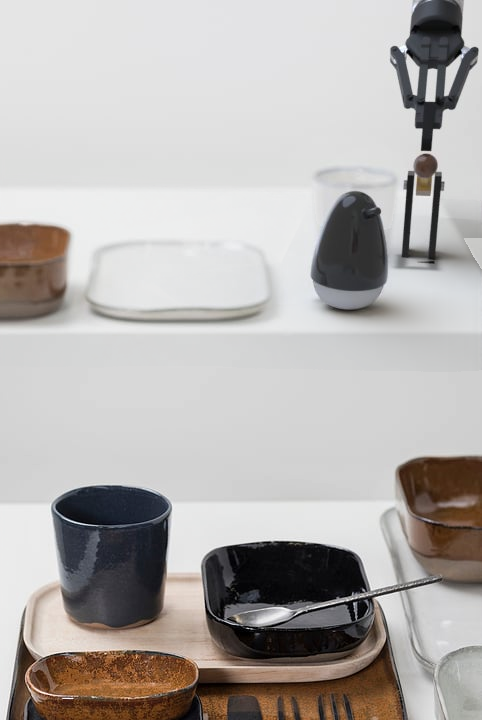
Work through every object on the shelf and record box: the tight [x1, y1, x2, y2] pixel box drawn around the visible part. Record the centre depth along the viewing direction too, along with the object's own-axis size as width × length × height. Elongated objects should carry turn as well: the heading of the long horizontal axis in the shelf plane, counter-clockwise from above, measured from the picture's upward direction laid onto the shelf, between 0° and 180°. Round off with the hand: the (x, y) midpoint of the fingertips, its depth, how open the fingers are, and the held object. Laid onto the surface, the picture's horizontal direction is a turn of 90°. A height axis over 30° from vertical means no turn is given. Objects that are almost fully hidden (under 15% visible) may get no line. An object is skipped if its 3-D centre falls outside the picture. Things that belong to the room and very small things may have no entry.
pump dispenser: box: [310, 190, 389, 311], centre depth 143 cm, size 10×10×15 cm
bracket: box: [401, 170, 446, 265], centre depth 165 cm, size 8×6×14 cm
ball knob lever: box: [412, 153, 439, 197], centre depth 158 cm, size 13×3×3 cm, turn 168°
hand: (426, 144), depth 153 cm, fingers closed
